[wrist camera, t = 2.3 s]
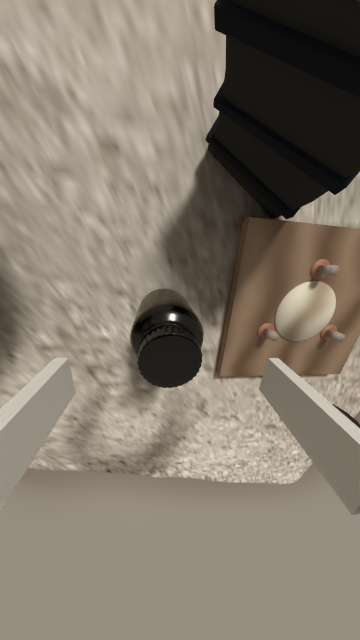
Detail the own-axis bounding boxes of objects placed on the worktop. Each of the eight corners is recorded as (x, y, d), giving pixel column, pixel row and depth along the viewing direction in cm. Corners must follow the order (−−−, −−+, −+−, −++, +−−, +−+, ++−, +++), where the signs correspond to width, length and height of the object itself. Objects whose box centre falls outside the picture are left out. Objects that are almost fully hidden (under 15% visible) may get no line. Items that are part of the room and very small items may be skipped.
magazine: (296, 238, 20) (492, 68, 5) (208, 183, 22) (179, -56, 7) (320, 208, 19) (629, -87, 5) (226, 153, 21) (236, -184, 6)
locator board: (216, 370, 28) (224, 385, 24) (243, 219, 20) (259, 212, 17) (331, 368, 31) (352, 381, 27) (393, 235, 23) (432, 232, 20)
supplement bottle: (175, 340, 25) (187, 409, 14) (131, 322, 23) (105, 384, 12) (197, 300, 23) (233, 342, 12) (152, 277, 21) (144, 301, 10)
